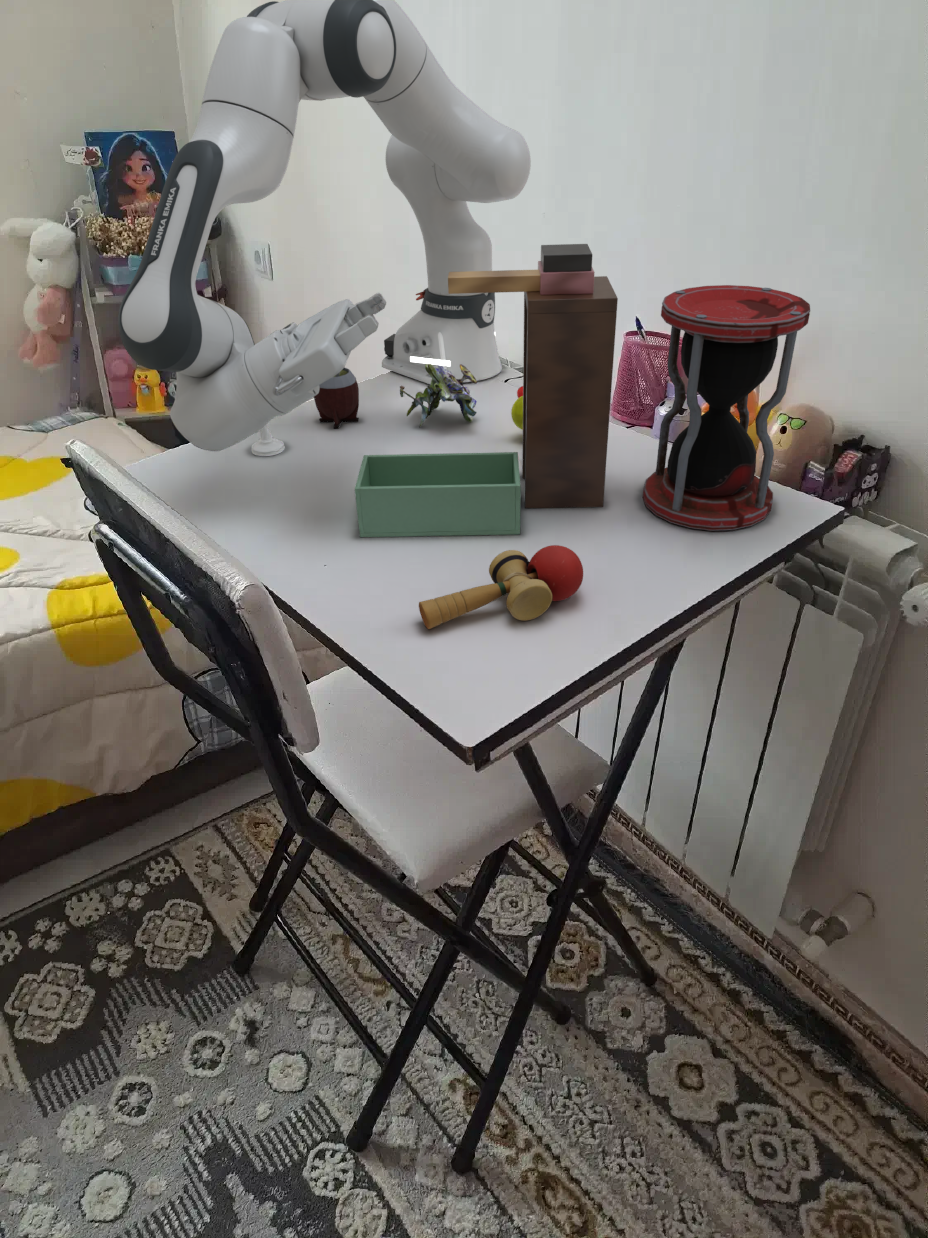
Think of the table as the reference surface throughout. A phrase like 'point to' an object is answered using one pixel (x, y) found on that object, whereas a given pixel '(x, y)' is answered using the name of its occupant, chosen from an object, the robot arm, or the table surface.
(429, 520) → the bin
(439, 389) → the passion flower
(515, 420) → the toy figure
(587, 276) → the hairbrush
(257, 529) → the table surface
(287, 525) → the table surface
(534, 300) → the shelf stand
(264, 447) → the chess piece
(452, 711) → the table surface
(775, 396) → the hourglass
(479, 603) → the kendama
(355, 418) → the mate gourd
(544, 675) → the table surface
